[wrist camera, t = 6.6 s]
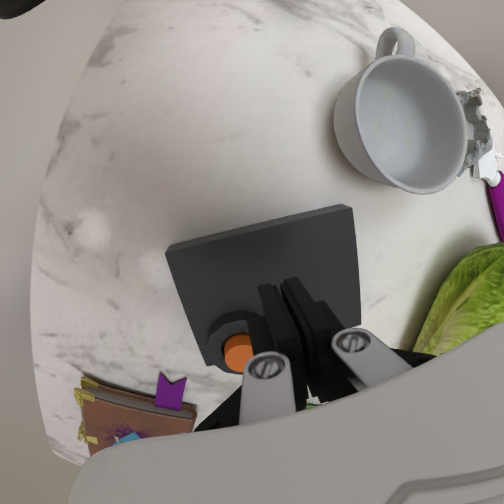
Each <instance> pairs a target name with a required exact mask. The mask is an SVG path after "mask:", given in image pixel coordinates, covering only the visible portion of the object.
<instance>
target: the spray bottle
mask: <svg viewBox="0 0 504 504" xmlns="http://www.w3.org/2000/svg"><path fill="white" fill-rule="evenodd" d="M489 129H490V128H489ZM492 133H493V131H492V129H490V134H491V137H492ZM495 157H499V158H504V156H503V155H501V154H500V153H499V152H497V151H496V150H495V149H494V142H493V147H492V149H491V150H490V151H489V152H488V153H486V154H485V155H483V156H482V157H481V158H480V159H479V160H478V161H477V162H476V163H475V164H474V171H473V177H475V178H483V179H484V180H487V182H488V183H489V193H490V197H491V201H492V205H493V209H494V213H495V217H496V220H497V227H498V230H499V233H500V235H501V238H502V241H503V242H504V174H503V173H502V172H501V171H497V164H496V158H495Z"/></svg>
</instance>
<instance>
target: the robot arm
mask: <svg viewBox="0 0 504 504" xmlns="http://www.w3.org/2000/svg"><path fill="white" fill-rule="evenodd" d="M257 288H258V292H259V297H260V302H261V306H262V311H263V315H264V316H260V317H256V318H251V319H247V320H246V321H247V326H248V331H249V336H250V341H251V346H252V351H253V357H252V358H250V359H249V360H248V361H247V362H246V364H245V366H244V369H243V380H242V385H241V386H240V387H239V388H238V389H237V390H236V391H235V392H234V393H233V394H232V395H231V396H230V397H229V398H227V399H226V400H225V401H224V402H223V403H222V404H221V405H220V406H219V407H218V408H217V409H216V410H215V411H213V412H212V413H211V414H210V415H209V416H208V417H207V418H206V419H205V420H204V421H202V422H201V423H200V424H199V425H198V426H197V428H196V429H195V431H194V432H192V433H186V431H184V432H181V433H177V434H174V435H168V436H158V437H150V438H144V439H137V440H133V441H128V442H124V443H120V444H117V445H114V446H111V447H108V448H105V449H103V450H101V451H99V452H97V453H95V454H93V455H92V456H91V457H90V458H88V459H87V461H86V462H85V463H84V464H83V466H82V468H81V469H80V471H79V473H78V475H77V477H76V480H75V482H74V485H73V487H72V491H71V494H70V497H69V501H68V504H504V321H502V322H499V323H497V324H495V325H493V326H491V327H489V328H487V329H485V330H484V331H482V332H480V333H478V334H477V335H475V336H473V337H471V338H470V339H468V340H466V341H464V342H463V343H461V344H459V345H458V346H456V347H454V348H452V349H450V350H449V351H447V352H444V353H440V355H439V356H436V355H432V354H427V353H420V352H412V351H406V350H399V349H393V348H389V347H388V346H387V345H385V344H384V343H383V342H382V341H381V340H380V339H378V338H377V337H376V336H375V335H374V334H372V333H371V332H369V331H368V330H365V329H362V328H349V329H345V328H344V326H343V325H342V324H341V322H340V321H339V319H338V318H337V317H336V315H335V314H334V313H333V311H332V310H331V309H330V307H329V306H328V305H327V303H326V302H325V301H324V300H321V301H318V302H314V300H313V299H312V297H311V296H310V294H309V293H308V291H307V290H306V288H305V287H304V286H303V284H302V283H301V281H300V280H299V278H298V277H297V276H295V277H291V278H287V279H284V283H281V284H280V290H281V294H280V292H279V290H278V288H277V286H276V285H273V286H271V283H267V284H262V285H258V286H257ZM307 385H308V387H309V390H310V392H311V395H312V397H316V396H318V398H319V401H320V403H324V402H327V401H328V403H325V404H322V405H319V406H316V407H312V408H309V409H305V408H306V407H307V401H306V399H309V396H308V388H307ZM304 409H305V410H304Z"/></svg>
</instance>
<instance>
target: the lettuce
mask: <svg viewBox="0 0 504 504" xmlns="http://www.w3.org/2000/svg"><path fill="white" fill-rule="evenodd" d="M502 321H504V242H501V243H496V244H491V245H487V246H482V247H477V248H476V249H474V250H473V251H472V252H470V253H469V254H467V255H466V256H465V257H463V258H462V259H461V260H460V261H459V263H458V264H457V265H456V266H455V268H454V269H453V270H452V271H451V273H450V274H449V276H448V277H447V278H446V280H445V281H444V283H443V284H442V285H441V287H440V289H439V291H438V293H437V296H436V298H435V300H434V302H433V304H432V306H431V309H430V311H429V313H428V315H427V318H426V320H425V322H424V325H423V327H422V329H421V331H420V334H419V336H418V339H417V341H416V344H415V346H414V349H413V351H412V352H420V353H427V354H432V355H436V356H439V355H440V353H444V352H447V351H449V350H450V349H452V348H454V347H456V346H458V345H459V344H461V343H463V342H464V341H466V340H468V339H470V338H471V337H473V336H475V335H477V334H478V333H480V332H482V331H484V330H485V329H487V328H489V327H491V326H493V325H495V324H497V323H499V322H502Z"/></svg>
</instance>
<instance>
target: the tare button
mask: <svg viewBox="0 0 504 504" xmlns="http://www.w3.org/2000/svg"><path fill="white" fill-rule="evenodd" d="M224 352H225V362H226V364H227V366H228V367H229V368H230V369H232V370H234V371H237V372H243V369H244V366H245V364H246V362H247V361H248V360H249V359H250V358H252V357H253V351H252V346H251V341H250V336H249V335H248V334H237V335H234V336H232V337H230V338H229V339H228V340H227V341H226V343H225V346H224Z"/></svg>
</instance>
